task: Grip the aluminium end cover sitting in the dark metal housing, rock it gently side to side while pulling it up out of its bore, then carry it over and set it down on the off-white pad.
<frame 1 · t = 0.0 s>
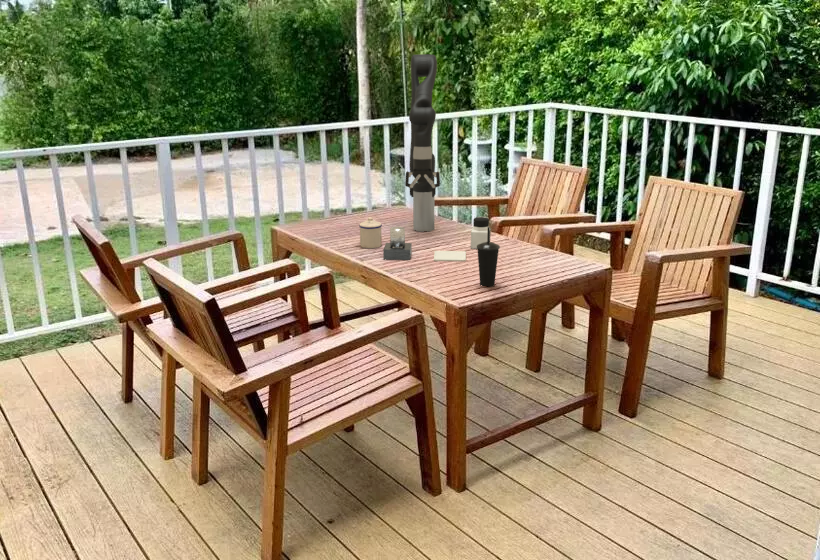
hand: (422, 196, 306), 17 cm above the table, tool pointing down, fingers open, 8 cm apart
medicine bottle: (480, 247, 296), on the table
housing: (397, 256, 283), on the table
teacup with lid: (369, 245, 299), on the table
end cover: (397, 242, 282), in the housing
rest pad: (449, 256, 282), on the table
drinking cup: (487, 285, 249), on the table
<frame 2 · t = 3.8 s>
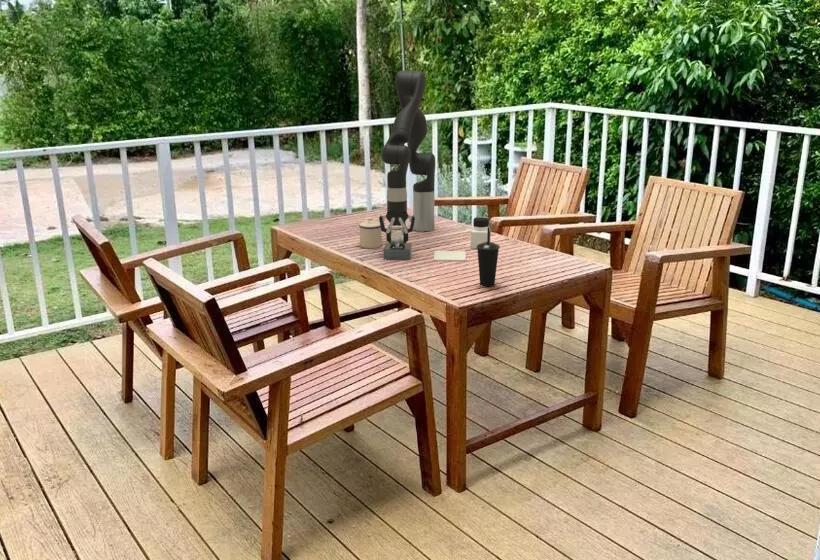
hand: (397, 242, 282), 6 cm above the table, tool pointing down, fingers closed on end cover, 5 cm apart
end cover: (397, 242, 282), in the housing, touching gripper
everything else where it was.
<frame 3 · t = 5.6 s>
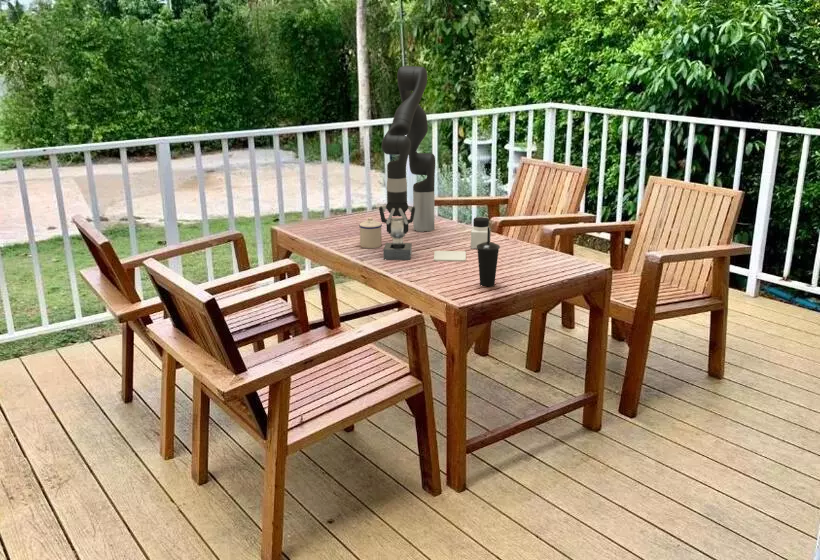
hand: (397, 233, 281), 9 cm above the table, tool pointing down, fingers closed on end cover, 5 cm apart
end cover: (397, 233, 281), point 9 cm above the table, touching gripper
everything else where it was.
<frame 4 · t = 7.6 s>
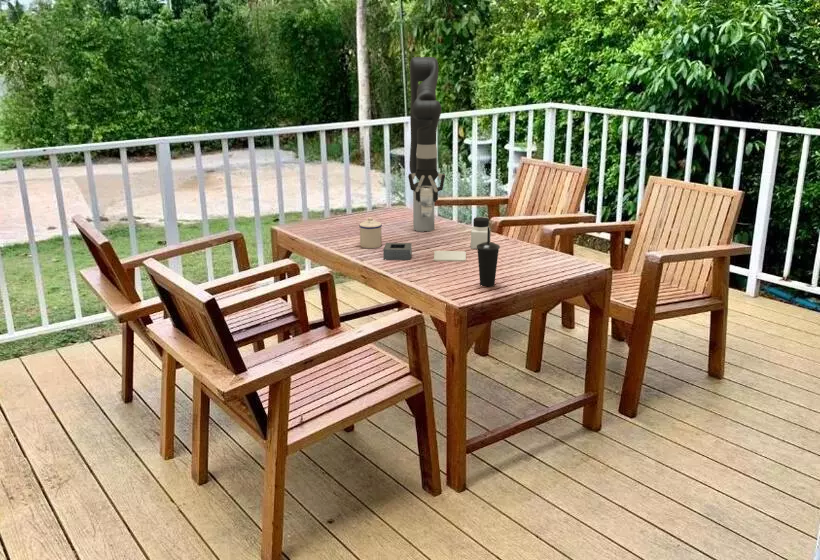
hand: (426, 201, 276), 21 cm above the table, tool pointing down, fingers closed on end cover, 5 cm apart
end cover: (426, 201, 276), point 21 cm above the table, touching gripper
everything else where it was.
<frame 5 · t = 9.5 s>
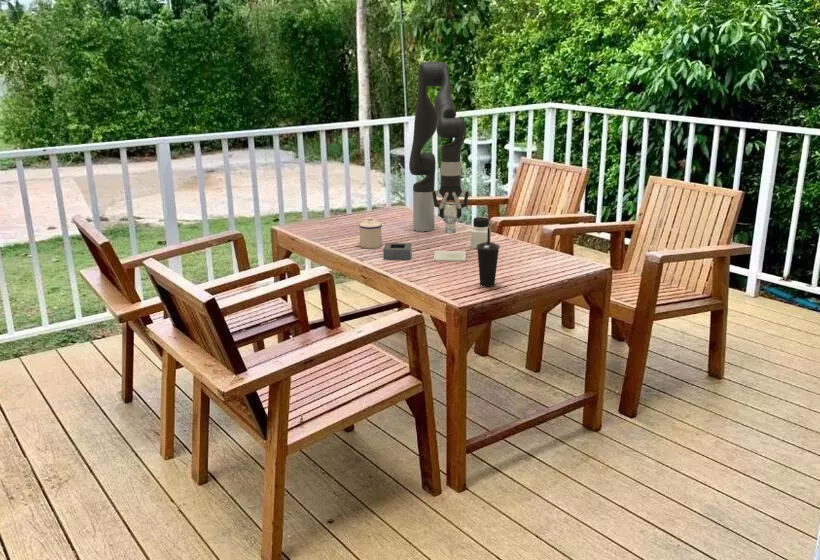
hand: (450, 217, 277), 15 cm above the table, tool pointing down, fingers closed on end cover, 5 cm apart
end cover: (450, 218, 277), point 15 cm above the table, touching gripper
everything else where it was.
when the fingers open (7 cm above the table, at t = 11.4 s): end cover drops 1 cm, resting on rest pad.
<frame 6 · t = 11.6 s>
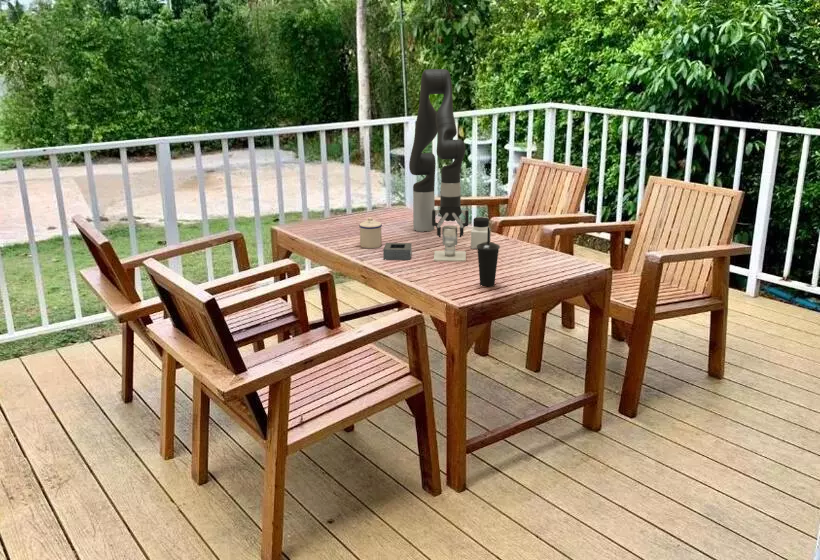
hand: (450, 236, 280), 8 cm above the table, tool pointing down, fingers open, 7 cm apart
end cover: (449, 241, 280), on the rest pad, point 6 cm above the table
everything else where it was.
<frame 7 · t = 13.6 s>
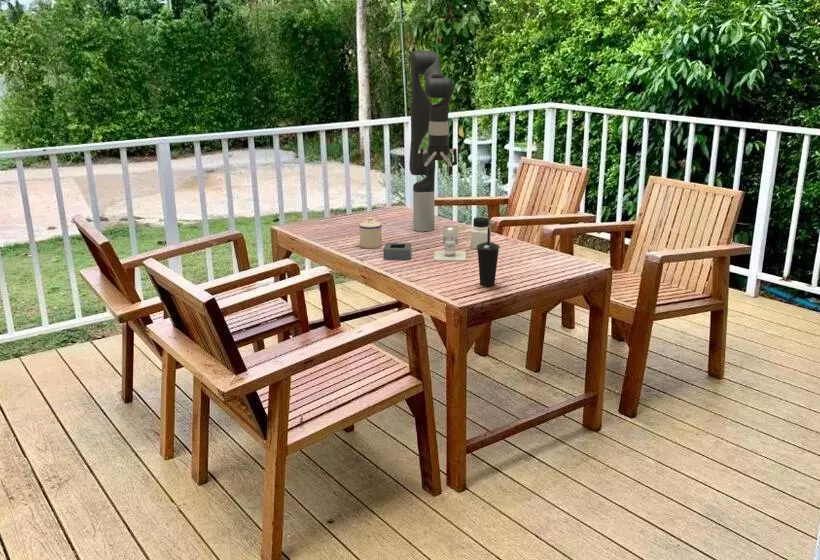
hand: (438, 175, 282), 29 cm above the table, tool pointing down, fingers open, 8 cm apart
nothing on the table moved.
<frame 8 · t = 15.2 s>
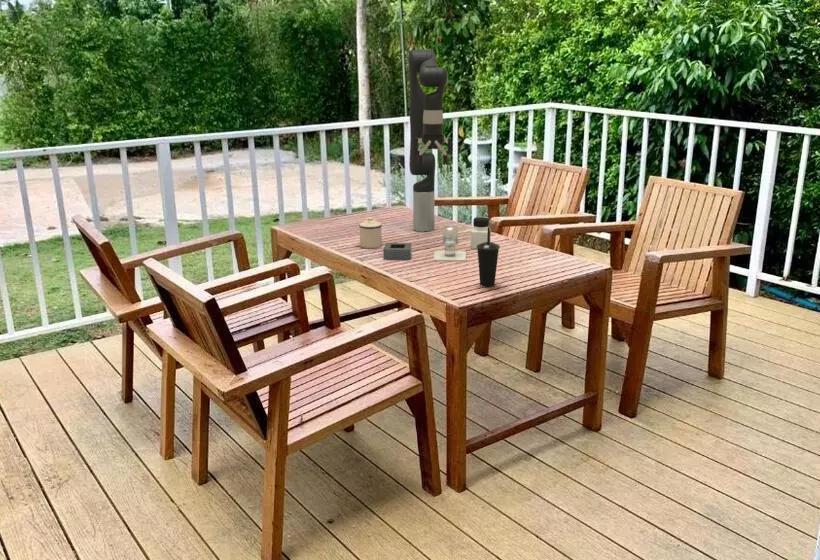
hand: (433, 164, 285), 33 cm above the table, tool pointing down, fingers open, 8 cm apart
nothing on the table moved.
at the end: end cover inside the target area on the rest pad (0.0 cm from its centre), point 6.1 cm above the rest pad's base; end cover tilted 0°; the gripper is holding nothing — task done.
